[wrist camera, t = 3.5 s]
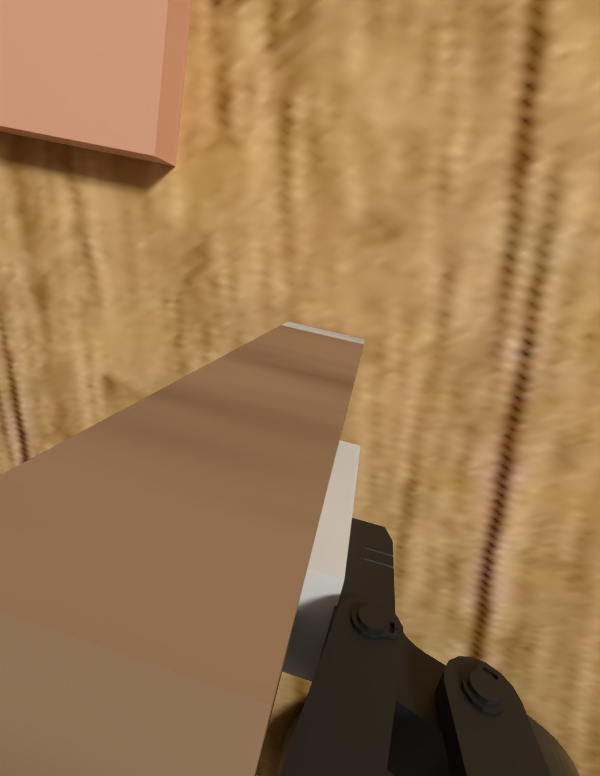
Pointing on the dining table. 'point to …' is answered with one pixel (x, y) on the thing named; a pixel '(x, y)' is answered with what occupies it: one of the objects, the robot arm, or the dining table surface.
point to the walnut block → (168, 566)
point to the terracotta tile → (95, 73)
